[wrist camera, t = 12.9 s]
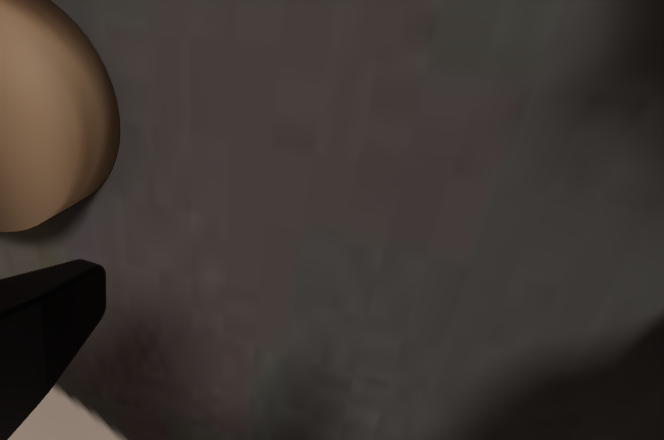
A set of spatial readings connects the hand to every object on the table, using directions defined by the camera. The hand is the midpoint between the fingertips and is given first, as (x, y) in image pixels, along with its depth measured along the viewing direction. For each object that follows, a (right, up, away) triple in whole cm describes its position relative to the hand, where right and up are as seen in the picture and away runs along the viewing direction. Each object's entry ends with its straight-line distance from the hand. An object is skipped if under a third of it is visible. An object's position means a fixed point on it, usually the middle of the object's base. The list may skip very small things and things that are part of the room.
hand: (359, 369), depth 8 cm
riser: (-14, +8, +15) cm, 22 cm away
